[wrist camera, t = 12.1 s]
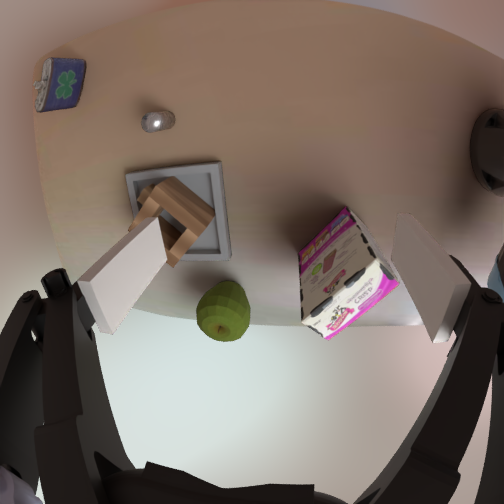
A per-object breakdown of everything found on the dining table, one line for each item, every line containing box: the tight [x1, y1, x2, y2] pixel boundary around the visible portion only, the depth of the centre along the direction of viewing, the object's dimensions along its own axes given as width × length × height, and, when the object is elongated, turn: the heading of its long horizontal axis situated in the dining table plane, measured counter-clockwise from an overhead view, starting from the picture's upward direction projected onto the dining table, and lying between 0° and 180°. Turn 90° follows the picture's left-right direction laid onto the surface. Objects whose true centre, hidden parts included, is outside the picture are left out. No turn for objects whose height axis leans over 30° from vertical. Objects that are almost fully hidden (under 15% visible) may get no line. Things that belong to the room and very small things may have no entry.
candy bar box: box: [298, 206, 399, 340], centre depth 35 cm, size 11×5×16 cm, turn 142°
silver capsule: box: [141, 111, 176, 133], centre depth 34 cm, size 3×3×6 cm
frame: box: [128, 176, 216, 267], centre depth 40 cm, size 9×11×6 cm
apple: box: [196, 281, 250, 342], centre depth 45 cm, size 9×8×12 cm
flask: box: [33, 58, 86, 112], centre depth 30 cm, size 9×3×11 cm, turn 162°
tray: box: [125, 161, 232, 261], centre depth 43 cm, size 15×15×2 cm
